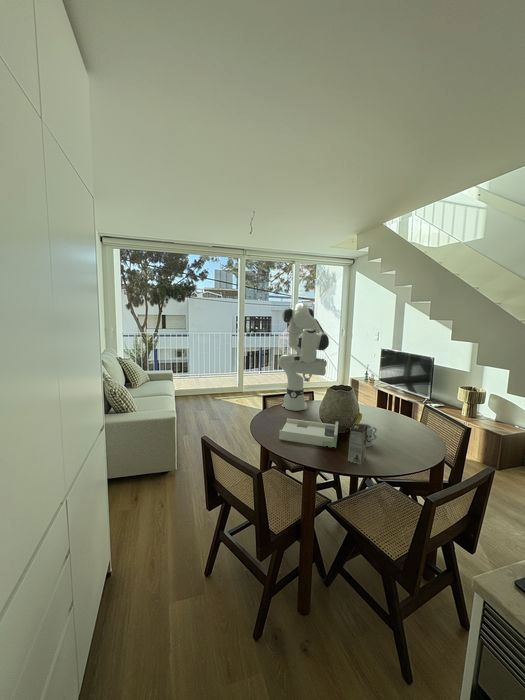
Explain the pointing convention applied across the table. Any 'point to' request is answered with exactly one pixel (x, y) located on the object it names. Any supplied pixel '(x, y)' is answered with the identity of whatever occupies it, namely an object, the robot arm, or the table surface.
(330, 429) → the block
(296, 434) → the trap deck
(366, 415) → the table surface
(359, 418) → the plant pot
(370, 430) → the mug
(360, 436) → the coffee box
